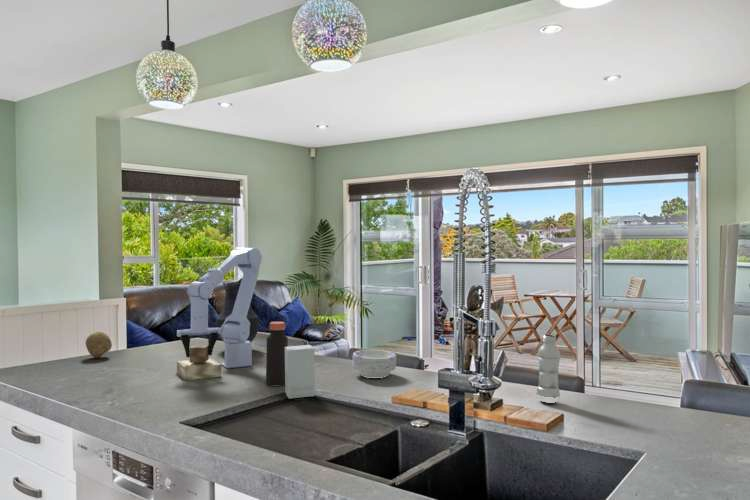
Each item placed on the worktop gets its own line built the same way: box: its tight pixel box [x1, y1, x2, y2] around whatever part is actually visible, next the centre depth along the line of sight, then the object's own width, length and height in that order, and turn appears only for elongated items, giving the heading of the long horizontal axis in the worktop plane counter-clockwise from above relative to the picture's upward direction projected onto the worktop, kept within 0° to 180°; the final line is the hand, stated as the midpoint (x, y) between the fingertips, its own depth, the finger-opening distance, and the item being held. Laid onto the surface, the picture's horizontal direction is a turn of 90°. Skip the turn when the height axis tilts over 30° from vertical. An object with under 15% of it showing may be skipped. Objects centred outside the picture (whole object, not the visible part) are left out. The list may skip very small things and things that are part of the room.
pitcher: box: [215, 277, 260, 344], centre depth 241 cm, size 17×21×30 cm
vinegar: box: [265, 321, 289, 386], centre depth 185 cm, size 7×7×20 cm
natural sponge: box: [85, 331, 113, 359], centre depth 220 cm, size 9×9×10 cm
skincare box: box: [284, 344, 316, 400], centre depth 172 cm, size 8×6×15 cm
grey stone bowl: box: [352, 349, 397, 377], centre depth 199 cm, size 15×15×8 cm
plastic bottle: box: [536, 334, 561, 398], centre depth 169 cm, size 6×7×20 cm
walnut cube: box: [189, 344, 210, 363], centre depth 196 cm, size 5×5×5 cm
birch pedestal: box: [176, 357, 222, 381], centre depth 196 cm, size 12×12×4 cm
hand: (198, 355), depth 196 cm, fingers open, 7 cm apart
